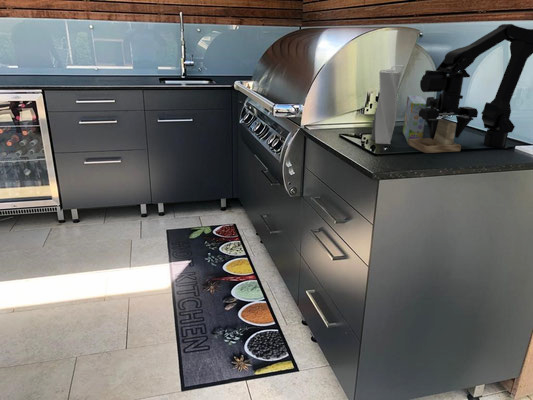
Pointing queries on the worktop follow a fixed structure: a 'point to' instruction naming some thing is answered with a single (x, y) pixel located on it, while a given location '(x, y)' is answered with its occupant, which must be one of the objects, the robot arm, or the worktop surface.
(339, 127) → the worktop surface
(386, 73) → the skyscraper
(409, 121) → the snack box
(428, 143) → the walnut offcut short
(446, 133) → the birch panel
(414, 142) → the oak rack
